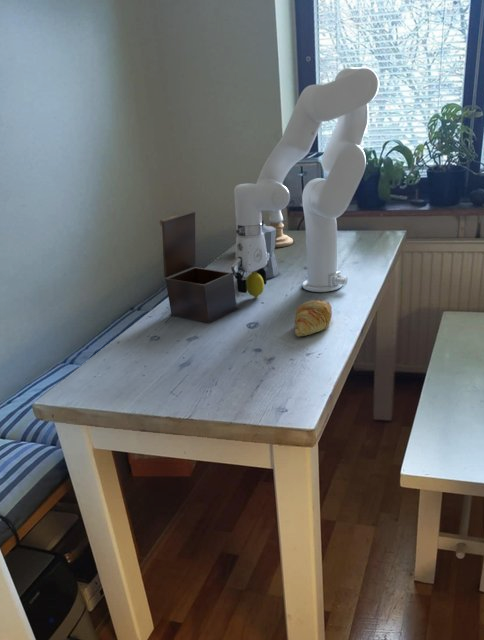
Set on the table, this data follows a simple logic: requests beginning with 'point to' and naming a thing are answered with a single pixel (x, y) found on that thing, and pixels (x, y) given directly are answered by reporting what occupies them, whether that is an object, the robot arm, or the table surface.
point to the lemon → (255, 284)
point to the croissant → (312, 317)
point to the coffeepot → (270, 250)
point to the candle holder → (279, 229)
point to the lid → (178, 243)
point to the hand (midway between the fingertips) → (252, 287)
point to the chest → (201, 294)
